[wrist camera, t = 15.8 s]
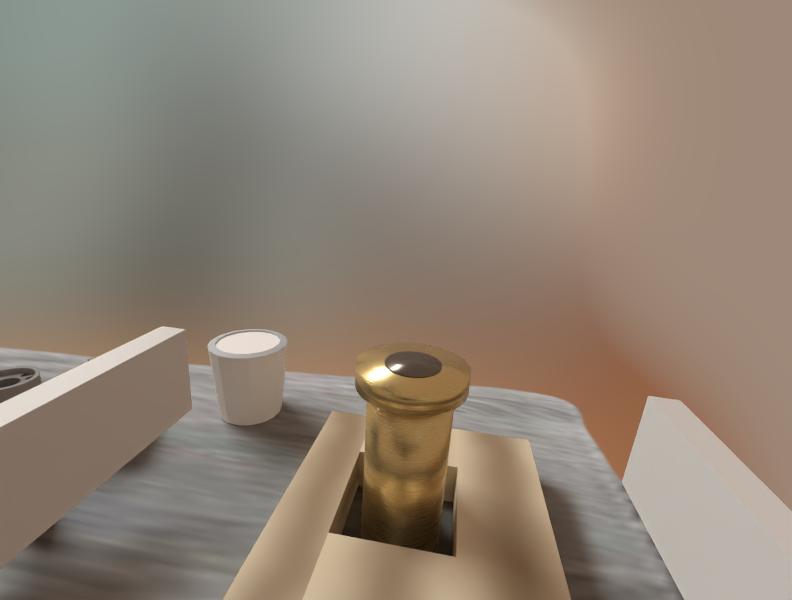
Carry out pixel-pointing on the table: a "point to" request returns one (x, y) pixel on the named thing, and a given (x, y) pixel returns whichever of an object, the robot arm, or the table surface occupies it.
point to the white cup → (248, 374)
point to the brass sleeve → (407, 439)
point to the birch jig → (399, 566)
